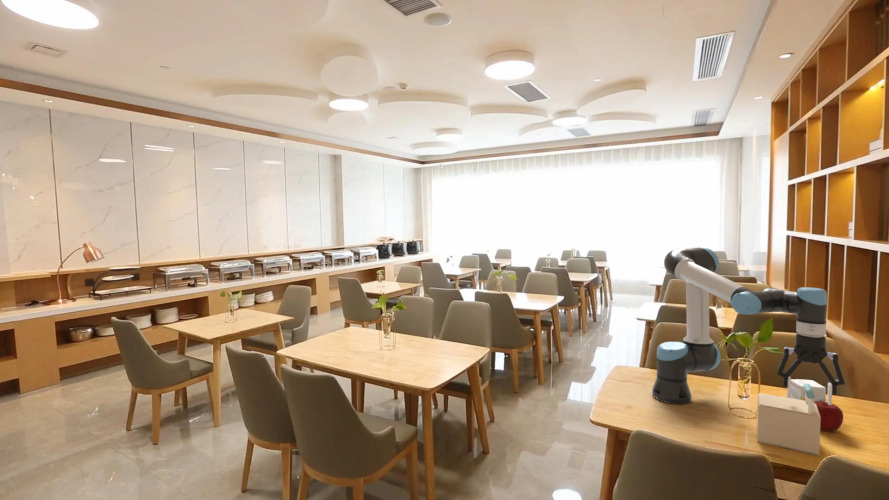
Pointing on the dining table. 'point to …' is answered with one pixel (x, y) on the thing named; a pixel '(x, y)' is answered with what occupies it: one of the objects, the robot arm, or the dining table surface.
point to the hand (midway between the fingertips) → (808, 399)
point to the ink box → (799, 390)
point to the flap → (791, 402)
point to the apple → (829, 416)
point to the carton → (789, 429)
